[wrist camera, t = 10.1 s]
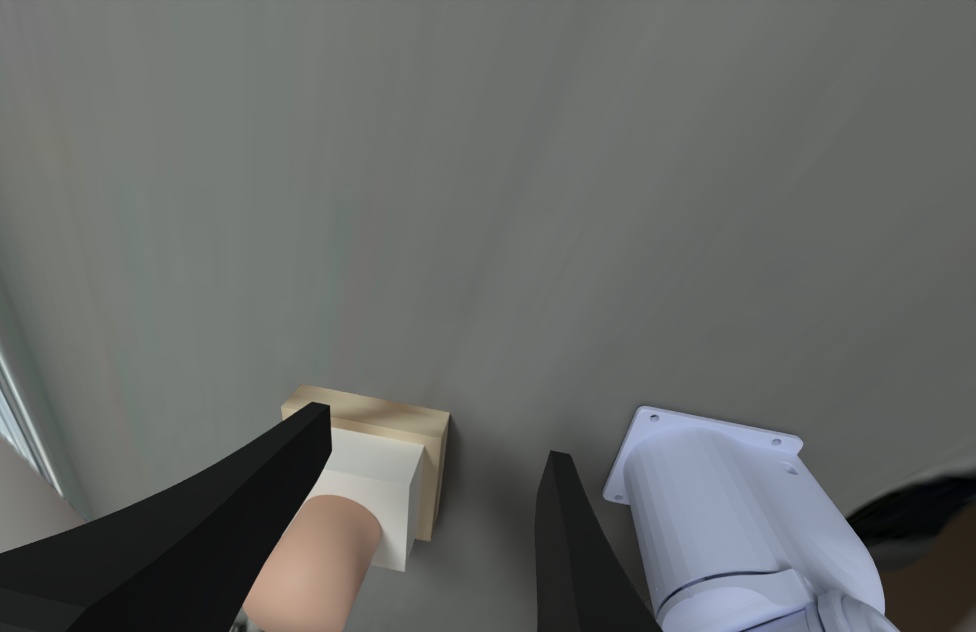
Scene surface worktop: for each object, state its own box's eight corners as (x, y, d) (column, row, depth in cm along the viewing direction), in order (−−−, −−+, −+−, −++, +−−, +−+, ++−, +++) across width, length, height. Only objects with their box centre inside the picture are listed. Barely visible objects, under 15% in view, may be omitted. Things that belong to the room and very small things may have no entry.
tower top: (424, 444, 24) (409, 485, 21) (418, 528, 28) (404, 572, 25) (297, 420, 24) (267, 457, 22) (308, 505, 28) (283, 546, 25)
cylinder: (396, 526, 23) (359, 623, 18) (356, 563, 25) (314, 658, 20) (322, 481, 22) (264, 571, 18) (287, 522, 24) (228, 612, 20)
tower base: (451, 406, 26) (441, 438, 24) (440, 505, 31) (430, 541, 28) (307, 378, 27) (280, 406, 24) (316, 479, 31) (295, 513, 29)
